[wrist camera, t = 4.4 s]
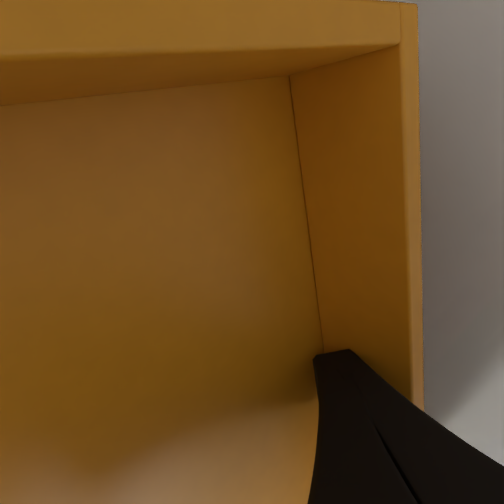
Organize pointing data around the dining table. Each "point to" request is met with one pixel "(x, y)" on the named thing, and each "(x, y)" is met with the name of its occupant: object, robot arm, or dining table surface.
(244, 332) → the tray
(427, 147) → the dining table surface
